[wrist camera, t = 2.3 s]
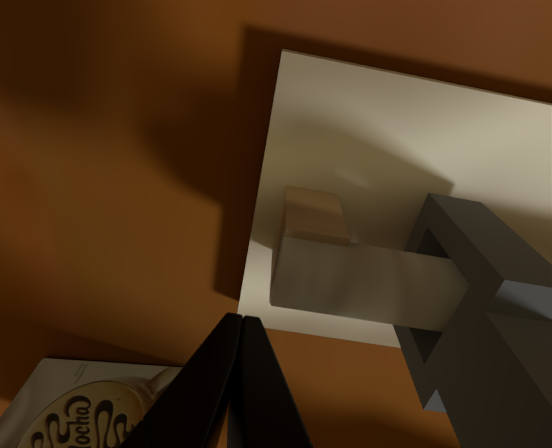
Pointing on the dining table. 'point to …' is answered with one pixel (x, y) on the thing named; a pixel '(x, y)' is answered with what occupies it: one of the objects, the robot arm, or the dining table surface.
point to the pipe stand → (382, 194)
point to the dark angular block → (485, 330)
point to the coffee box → (81, 404)
